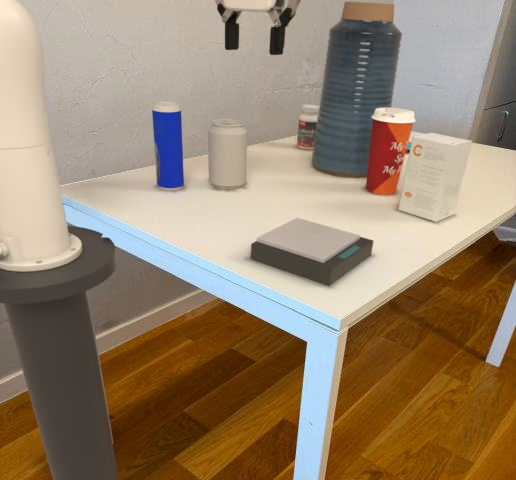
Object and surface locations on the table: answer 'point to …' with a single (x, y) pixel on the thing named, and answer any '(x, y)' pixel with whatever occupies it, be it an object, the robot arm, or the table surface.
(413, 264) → the table surface
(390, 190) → the coffee cup
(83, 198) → the table surface
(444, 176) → the small box
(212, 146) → the can
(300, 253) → the scale
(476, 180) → the table surface
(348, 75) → the vase
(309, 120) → the pill bottle
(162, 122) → the beverage can
